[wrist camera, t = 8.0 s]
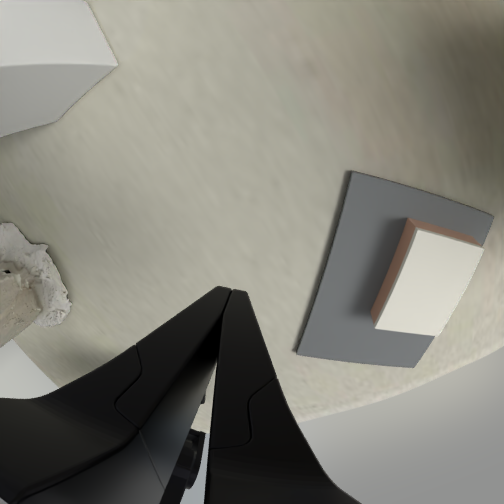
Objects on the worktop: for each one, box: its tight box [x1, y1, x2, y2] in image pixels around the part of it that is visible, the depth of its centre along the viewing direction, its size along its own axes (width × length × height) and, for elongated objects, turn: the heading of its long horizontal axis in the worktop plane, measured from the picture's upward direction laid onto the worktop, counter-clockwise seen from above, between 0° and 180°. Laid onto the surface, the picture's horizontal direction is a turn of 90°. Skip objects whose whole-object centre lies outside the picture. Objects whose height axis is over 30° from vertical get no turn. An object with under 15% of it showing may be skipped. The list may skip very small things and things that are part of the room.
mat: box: [297, 171, 494, 368], centre depth 21 cm, size 16×12×1 cm
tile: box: [370, 218, 485, 336], centre depth 19 cm, size 8×2×6 cm
